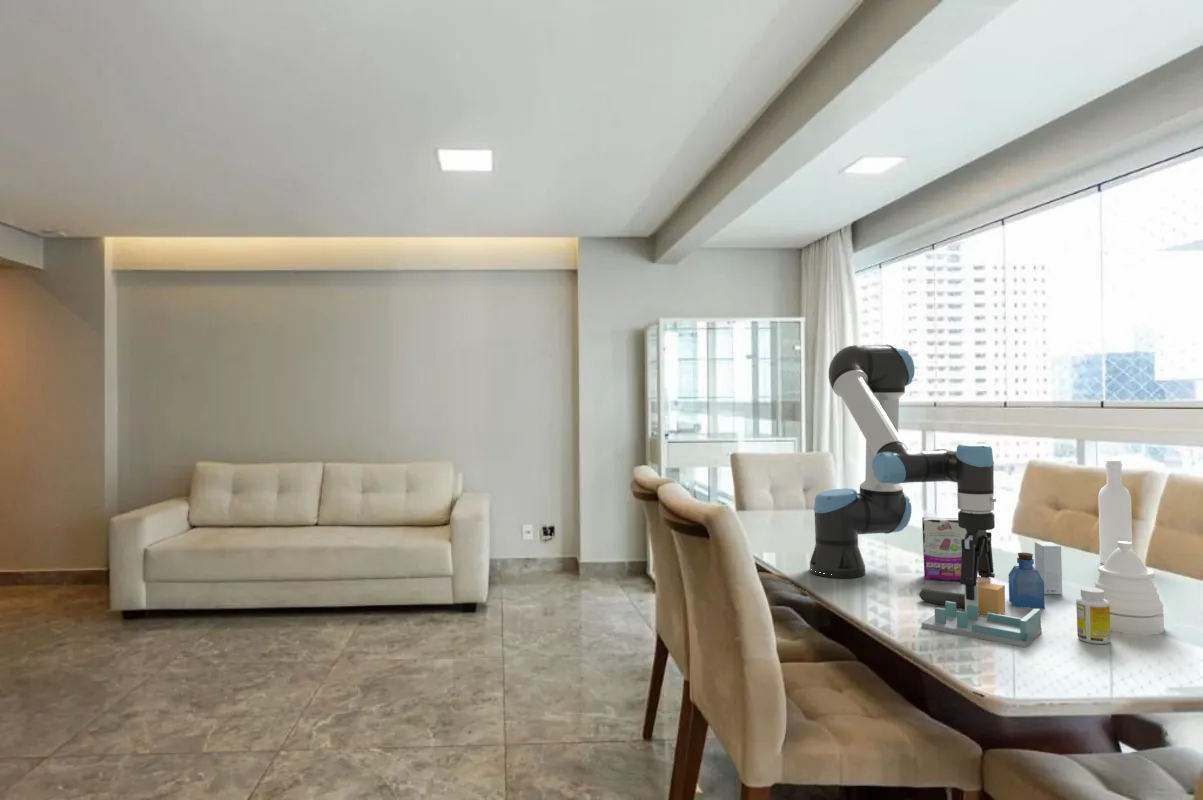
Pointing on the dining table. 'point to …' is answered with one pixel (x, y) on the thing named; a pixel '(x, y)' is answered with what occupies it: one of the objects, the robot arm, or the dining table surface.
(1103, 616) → the supplement bottle
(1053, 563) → the skincare box
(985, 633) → the teal block plate
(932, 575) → the candy bar box
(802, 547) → the dining table surface
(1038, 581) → the perfume bottle
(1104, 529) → the bottle
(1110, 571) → the honey pot
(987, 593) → the orange cube-head hammer
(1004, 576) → the dining table surface
